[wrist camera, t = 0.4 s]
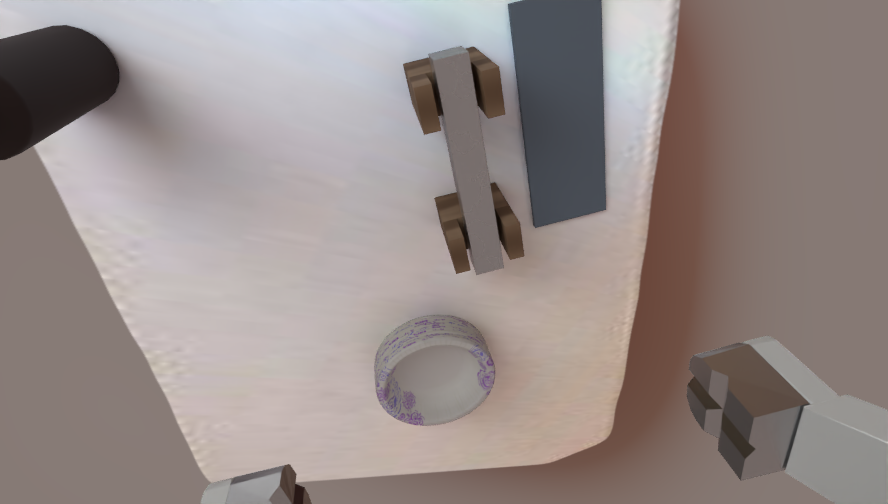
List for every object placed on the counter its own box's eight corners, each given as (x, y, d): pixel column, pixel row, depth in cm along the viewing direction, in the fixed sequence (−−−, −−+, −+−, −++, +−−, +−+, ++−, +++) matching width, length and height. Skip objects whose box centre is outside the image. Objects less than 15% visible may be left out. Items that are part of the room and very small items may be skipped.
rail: (428, 54, 43) (432, 60, 40) (461, 45, 43) (468, 51, 40) (470, 259, 54) (476, 274, 52) (496, 253, 55) (503, 267, 52)
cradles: (402, 64, 48) (413, 87, 40) (473, 46, 49) (498, 66, 40) (441, 227, 59) (456, 273, 50) (499, 212, 59) (524, 256, 50)
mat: (507, 4, 47) (509, 4, 47) (598, -19, 47) (600, -18, 47) (533, 225, 61) (535, 227, 60) (603, 207, 61) (605, 209, 60)
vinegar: (135, 62, 45) (4, 130, 28) (100, 118, 47) (-43, 213, 30) (54, 6, 42) (-148, 44, 25) (20, 69, 44) (-189, 144, 27)
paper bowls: (503, 342, 70) (519, 384, 63) (421, 398, 73) (428, 443, 67) (437, 279, 63) (447, 318, 56) (349, 344, 66) (349, 389, 59)
